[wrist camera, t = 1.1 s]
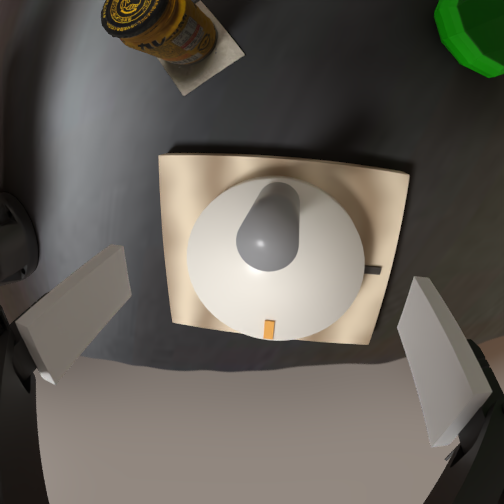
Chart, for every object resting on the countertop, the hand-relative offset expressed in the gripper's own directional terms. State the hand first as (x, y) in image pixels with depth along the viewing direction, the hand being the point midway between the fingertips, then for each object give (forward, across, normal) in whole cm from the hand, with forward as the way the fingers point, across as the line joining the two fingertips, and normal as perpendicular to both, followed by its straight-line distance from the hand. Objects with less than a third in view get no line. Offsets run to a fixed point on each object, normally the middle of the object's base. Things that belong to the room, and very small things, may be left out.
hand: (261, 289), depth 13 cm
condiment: (+18, -10, +15) cm, 26 cm away
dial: (+16, 0, -6) cm, 17 cm away
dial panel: (+18, 0, -6) cm, 19 cm away
